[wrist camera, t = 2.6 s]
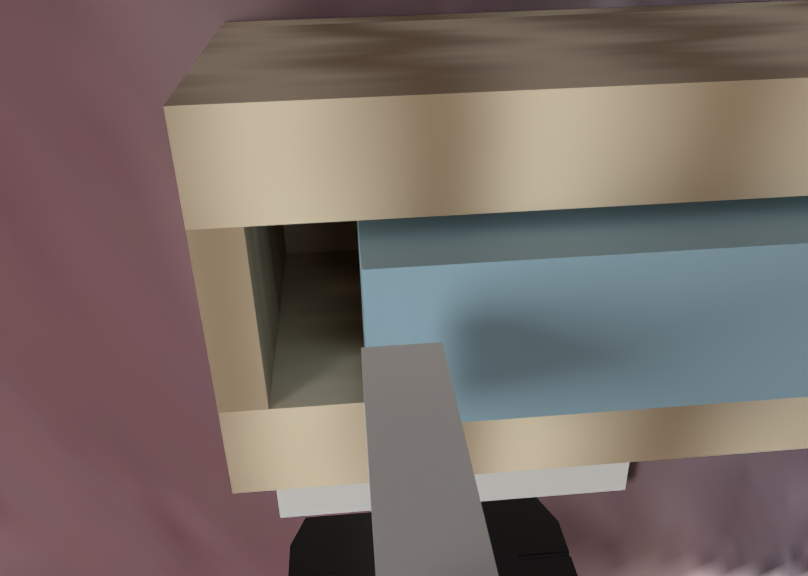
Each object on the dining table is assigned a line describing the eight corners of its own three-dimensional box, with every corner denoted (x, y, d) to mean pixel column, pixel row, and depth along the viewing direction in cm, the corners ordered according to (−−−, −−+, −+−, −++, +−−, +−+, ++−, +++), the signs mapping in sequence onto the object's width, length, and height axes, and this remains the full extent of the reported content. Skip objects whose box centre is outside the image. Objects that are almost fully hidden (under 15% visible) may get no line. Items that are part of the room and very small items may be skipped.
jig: (950, -6, 24) (1275, 56, 16) (864, 269, 29) (1079, 427, 21) (223, 22, 23) (163, 106, 14) (261, 307, 27) (232, 493, 19)
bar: (1020, 158, 19) (1172, 221, 16) (967, 293, 21) (1093, 375, 18) (355, 194, 18) (362, 269, 15) (363, 333, 20) (370, 429, 17)
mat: (259, 353, 28) (258, 361, 28) (644, 327, 29) (650, 335, 29) (281, 507, 32) (280, 517, 32) (620, 480, 33) (625, 489, 33)
